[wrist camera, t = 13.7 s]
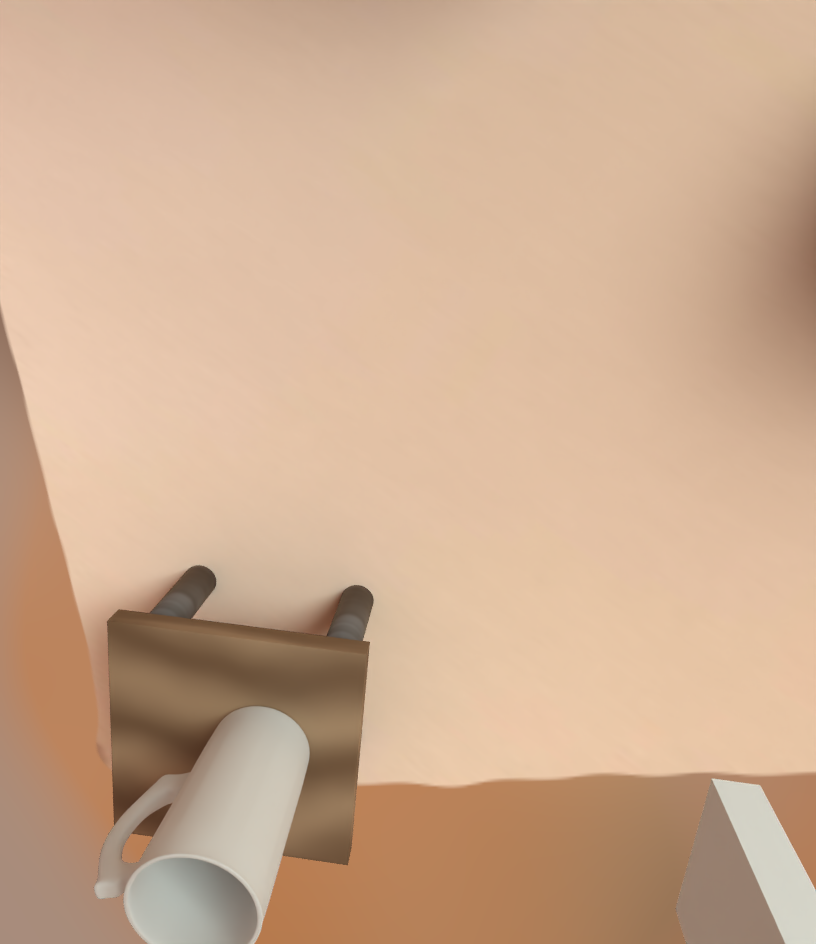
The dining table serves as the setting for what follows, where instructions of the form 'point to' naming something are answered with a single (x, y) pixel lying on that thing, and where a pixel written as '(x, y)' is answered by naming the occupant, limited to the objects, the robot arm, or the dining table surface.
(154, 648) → the small wooden stand
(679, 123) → the dining table surface
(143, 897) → the mug
